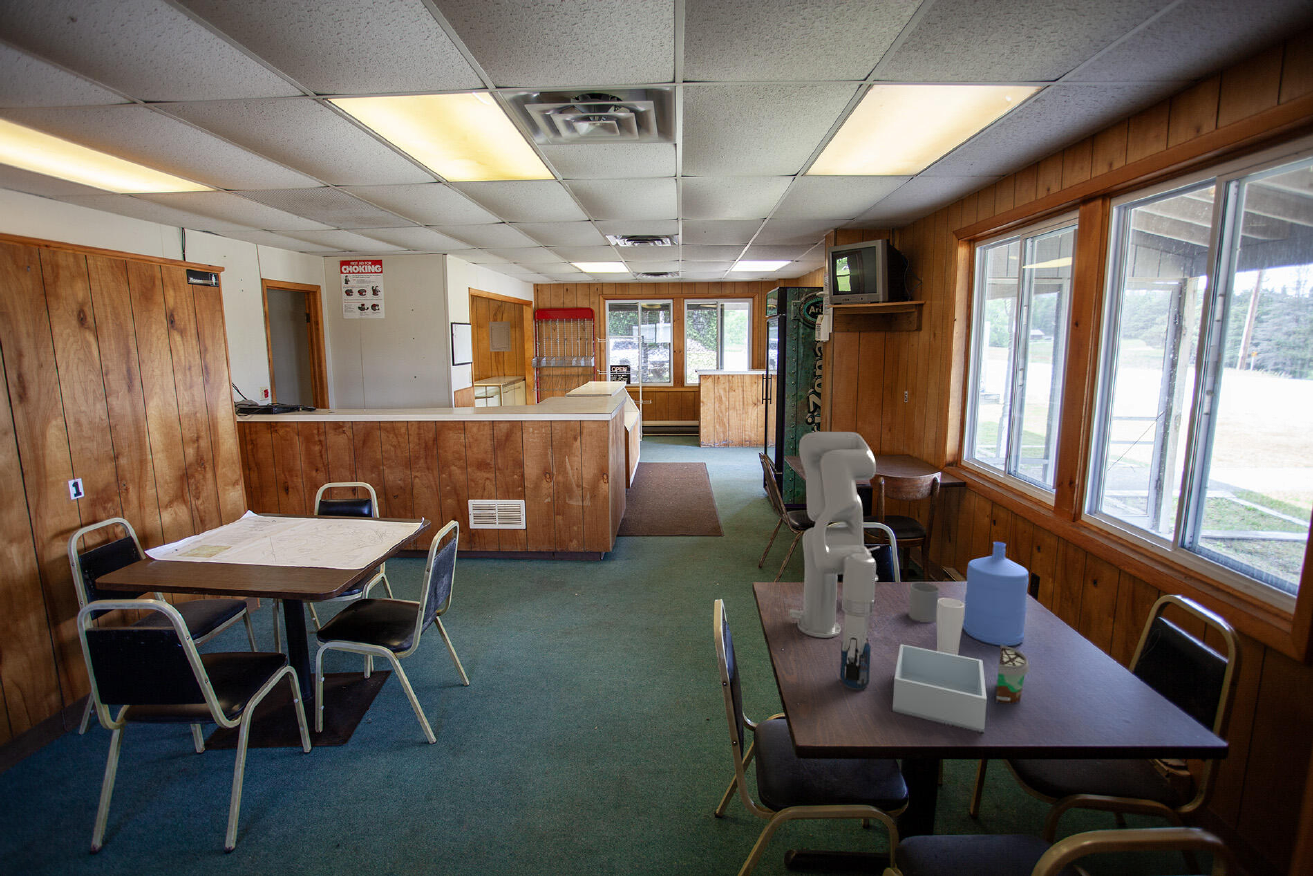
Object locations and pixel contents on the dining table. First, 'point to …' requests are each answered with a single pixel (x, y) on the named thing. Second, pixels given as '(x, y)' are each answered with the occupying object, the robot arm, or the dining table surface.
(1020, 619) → the water jug
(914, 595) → the cup
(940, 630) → the drinking glass
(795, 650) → the dining table surface
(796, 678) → the dining table surface
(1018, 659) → the food container
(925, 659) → the open storage bin
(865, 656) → the soda can
